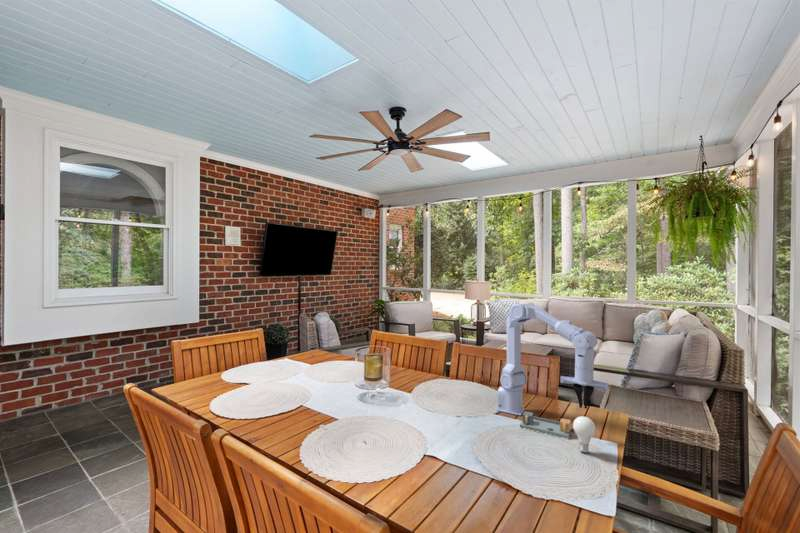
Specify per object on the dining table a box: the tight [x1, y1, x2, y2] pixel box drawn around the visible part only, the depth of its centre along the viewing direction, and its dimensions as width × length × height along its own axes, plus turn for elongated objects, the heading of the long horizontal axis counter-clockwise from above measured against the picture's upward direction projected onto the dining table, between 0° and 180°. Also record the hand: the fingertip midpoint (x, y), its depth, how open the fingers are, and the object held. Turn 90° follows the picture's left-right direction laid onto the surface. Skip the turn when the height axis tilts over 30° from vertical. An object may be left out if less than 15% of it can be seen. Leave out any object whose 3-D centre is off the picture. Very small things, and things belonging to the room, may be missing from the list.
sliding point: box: [559, 418, 571, 433], centre depth 126 cm, size 3×5×3 cm, turn 150°
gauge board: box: [519, 410, 573, 440], centre depth 131 cm, size 16×10×4 cm, turn 60°
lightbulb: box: [572, 415, 597, 454], centre depth 114 cm, size 6×6×11 cm
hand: (583, 407), depth 124 cm, fingers closed
